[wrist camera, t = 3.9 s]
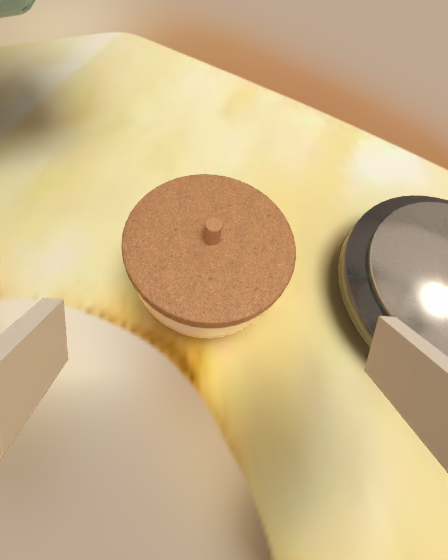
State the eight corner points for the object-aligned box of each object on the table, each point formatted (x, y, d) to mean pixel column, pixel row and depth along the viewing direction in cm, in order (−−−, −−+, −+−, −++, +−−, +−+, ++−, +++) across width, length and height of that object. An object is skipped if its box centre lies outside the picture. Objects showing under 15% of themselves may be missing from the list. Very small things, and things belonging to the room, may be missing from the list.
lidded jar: (119, 339, 24) (86, 288, 16) (157, 224, 29) (147, 138, 21) (259, 368, 25) (299, 333, 16) (274, 249, 29) (310, 174, 21)
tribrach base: (341, 402, 24) (377, 394, 20) (315, 215, 32) (337, 179, 27) (545, 406, 26) (622, 400, 21) (475, 228, 33) (521, 196, 29)
